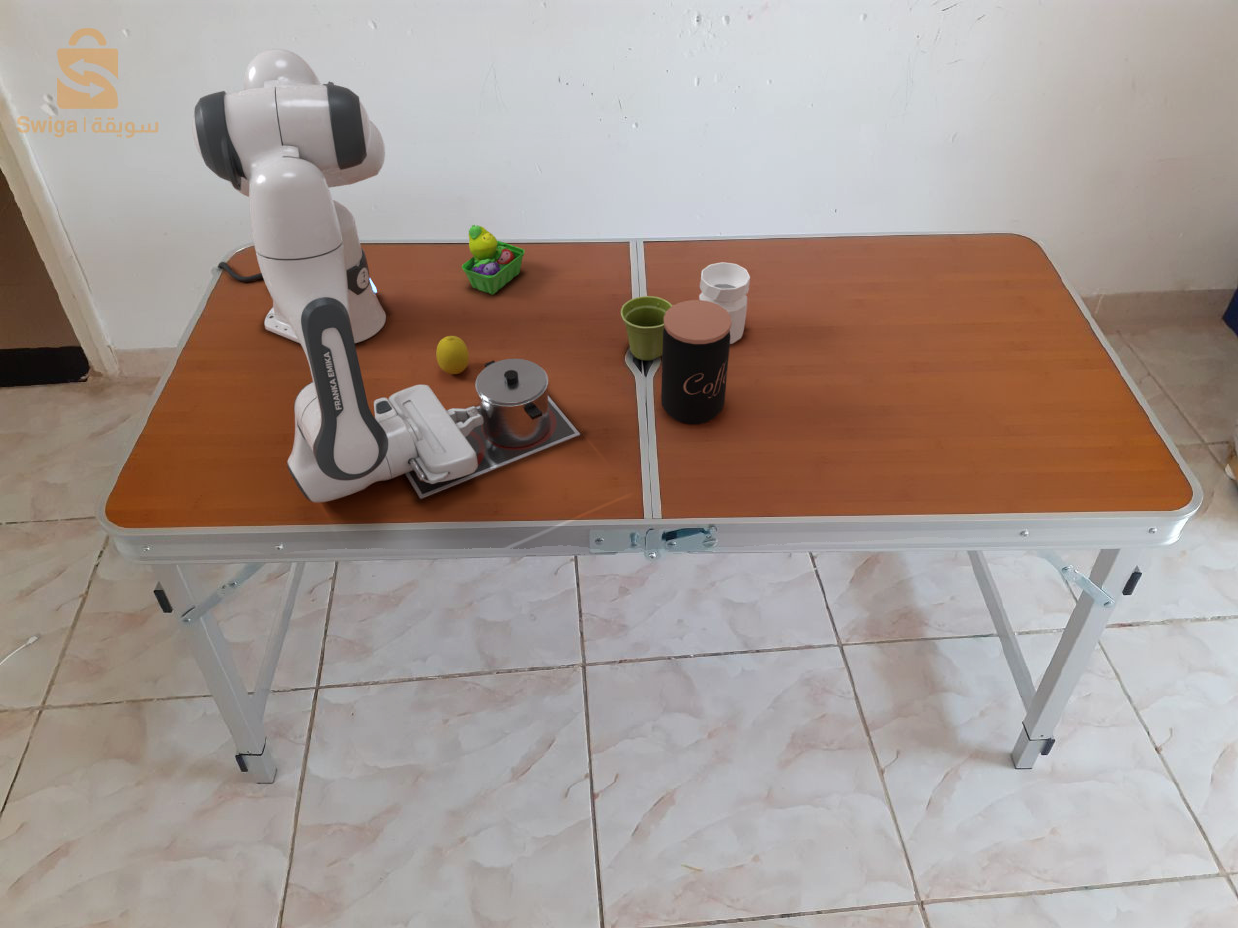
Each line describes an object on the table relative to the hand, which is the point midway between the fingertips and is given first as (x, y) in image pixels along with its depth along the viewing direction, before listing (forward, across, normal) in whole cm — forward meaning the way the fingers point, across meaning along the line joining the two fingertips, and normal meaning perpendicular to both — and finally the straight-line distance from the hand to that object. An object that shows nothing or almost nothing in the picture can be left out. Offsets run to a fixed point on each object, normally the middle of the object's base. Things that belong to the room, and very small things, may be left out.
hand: (479, 414), depth 153 cm
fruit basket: (+21, +42, +6) cm, 47 cm away
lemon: (+3, +18, +6) cm, 19 cm away
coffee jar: (+34, -11, +6) cm, 36 cm away
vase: (+50, +4, +6) cm, 51 cm away
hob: (0, 0, +6) cm, 6 cm away
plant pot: (+35, +6, +6) cm, 36 cm away
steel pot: (+6, 0, +5) cm, 8 cm away
